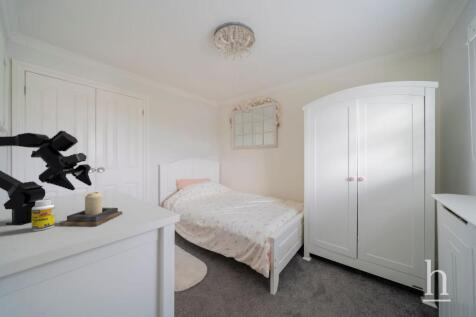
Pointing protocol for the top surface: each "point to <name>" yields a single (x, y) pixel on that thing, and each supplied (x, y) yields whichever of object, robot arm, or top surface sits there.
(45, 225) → the supplement bottle
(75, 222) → the socket
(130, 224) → the top surface
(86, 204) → the candle
